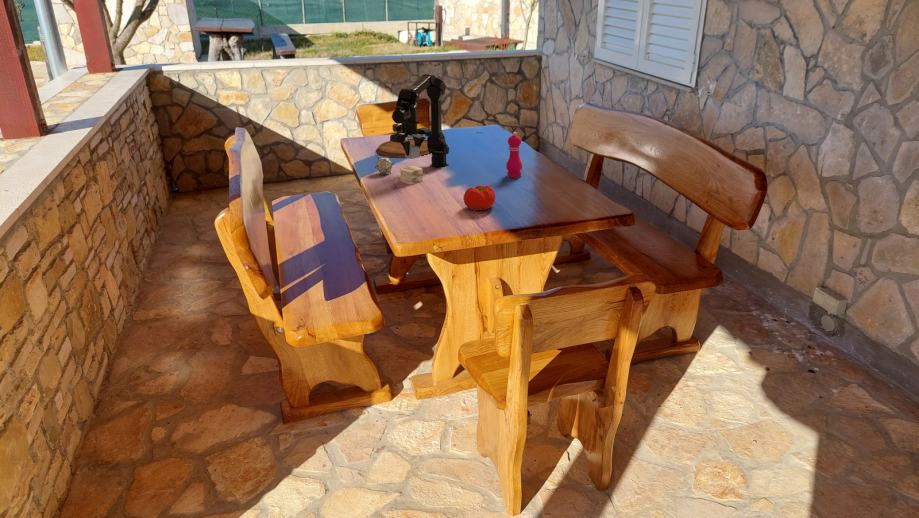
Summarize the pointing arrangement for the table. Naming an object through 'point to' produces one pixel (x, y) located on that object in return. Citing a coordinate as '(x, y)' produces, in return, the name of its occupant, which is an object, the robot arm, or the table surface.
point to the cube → (413, 152)
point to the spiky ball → (384, 165)
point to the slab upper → (411, 172)
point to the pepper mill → (514, 157)
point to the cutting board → (399, 149)
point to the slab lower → (411, 180)
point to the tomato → (479, 197)
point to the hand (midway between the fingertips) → (412, 154)
